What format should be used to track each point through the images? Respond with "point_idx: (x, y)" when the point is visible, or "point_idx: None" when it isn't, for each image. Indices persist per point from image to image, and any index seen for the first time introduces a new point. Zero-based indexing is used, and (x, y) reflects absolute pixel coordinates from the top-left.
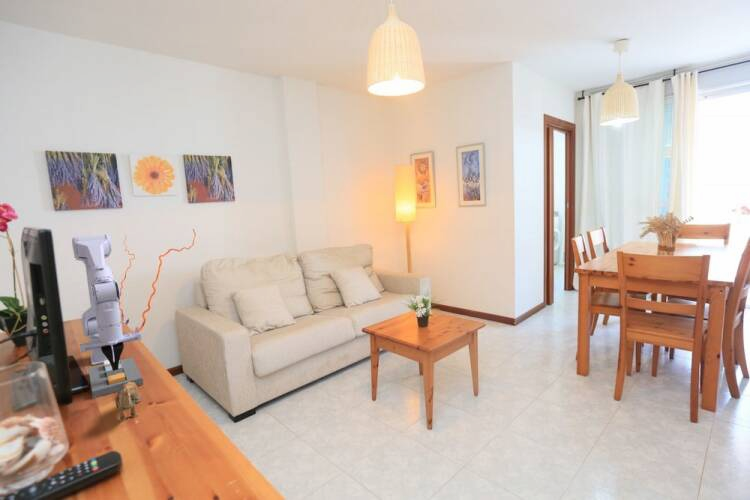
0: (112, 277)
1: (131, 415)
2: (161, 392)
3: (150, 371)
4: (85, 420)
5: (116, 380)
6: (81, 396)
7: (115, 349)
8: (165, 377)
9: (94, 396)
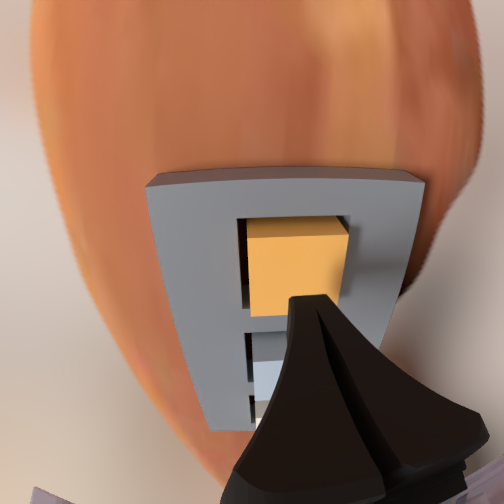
0: None
1: None
2: (88, 4)
3: (137, 319)
4: None
5: (301, 230)
6: (426, 237)
7: (361, 476)
8: (60, 198)
9: (402, 173)
